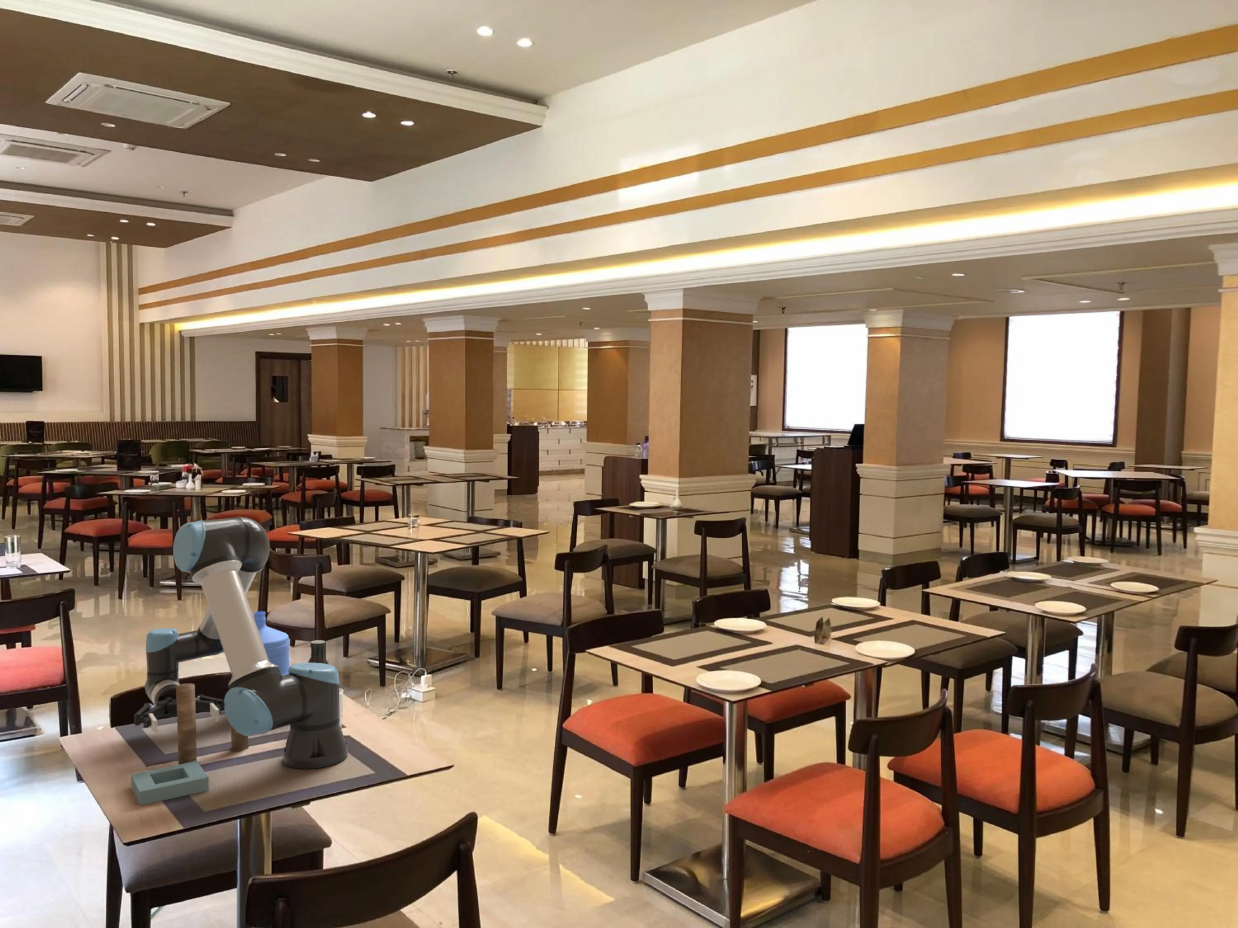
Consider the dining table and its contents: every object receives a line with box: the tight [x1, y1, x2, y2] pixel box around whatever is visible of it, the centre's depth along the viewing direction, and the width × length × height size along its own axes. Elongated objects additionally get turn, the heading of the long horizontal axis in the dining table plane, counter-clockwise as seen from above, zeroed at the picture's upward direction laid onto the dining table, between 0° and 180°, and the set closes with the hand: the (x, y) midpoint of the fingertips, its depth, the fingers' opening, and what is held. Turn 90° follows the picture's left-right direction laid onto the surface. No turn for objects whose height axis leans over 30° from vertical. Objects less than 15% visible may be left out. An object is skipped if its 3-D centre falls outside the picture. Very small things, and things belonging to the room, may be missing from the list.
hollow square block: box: [130, 760, 210, 806], centre depth 216 cm, size 12×14×3 cm
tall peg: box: [176, 682, 198, 765], centre depth 227 cm, size 4×4×20 cm
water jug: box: [252, 610, 290, 676], centre depth 270 cm, size 16×16×28 cm
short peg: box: [230, 725, 249, 752], centre depth 241 cm, size 4×4×9 cm
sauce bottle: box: [307, 639, 330, 665], centre depth 270 cm, size 6×6×20 cm
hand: (187, 720), depth 226 cm, fingers open, 13 cm apart
